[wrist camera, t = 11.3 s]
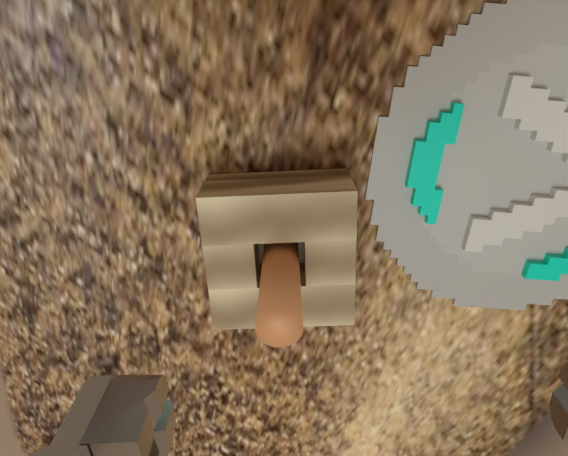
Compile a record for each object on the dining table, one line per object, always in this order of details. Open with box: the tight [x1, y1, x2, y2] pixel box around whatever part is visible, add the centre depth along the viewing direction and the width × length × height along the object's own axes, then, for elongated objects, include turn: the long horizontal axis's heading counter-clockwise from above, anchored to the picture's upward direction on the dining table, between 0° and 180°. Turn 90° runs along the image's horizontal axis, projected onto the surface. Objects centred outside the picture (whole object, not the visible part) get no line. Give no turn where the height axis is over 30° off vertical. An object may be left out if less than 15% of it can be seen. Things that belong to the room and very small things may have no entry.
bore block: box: [196, 168, 358, 330], centre depth 37 cm, size 12×12×6 cm
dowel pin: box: [255, 242, 303, 347], centre depth 32 cm, size 3×3×12 cm
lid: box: [365, 0, 568, 310], centre depth 37 cm, size 28×28×2 cm
